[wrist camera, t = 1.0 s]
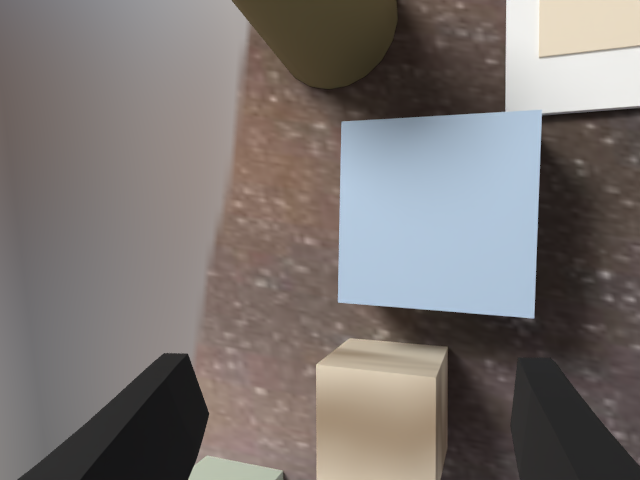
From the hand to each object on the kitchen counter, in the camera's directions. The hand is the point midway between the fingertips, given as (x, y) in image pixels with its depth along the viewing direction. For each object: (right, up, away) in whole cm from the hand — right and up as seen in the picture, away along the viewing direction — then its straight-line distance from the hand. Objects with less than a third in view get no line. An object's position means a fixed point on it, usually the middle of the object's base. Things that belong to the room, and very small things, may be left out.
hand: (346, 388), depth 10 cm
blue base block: (+5, +4, +10) cm, 12 cm away
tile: (+10, +12, +8) cm, 18 cm away
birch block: (+3, -4, +11) cm, 12 cm away
